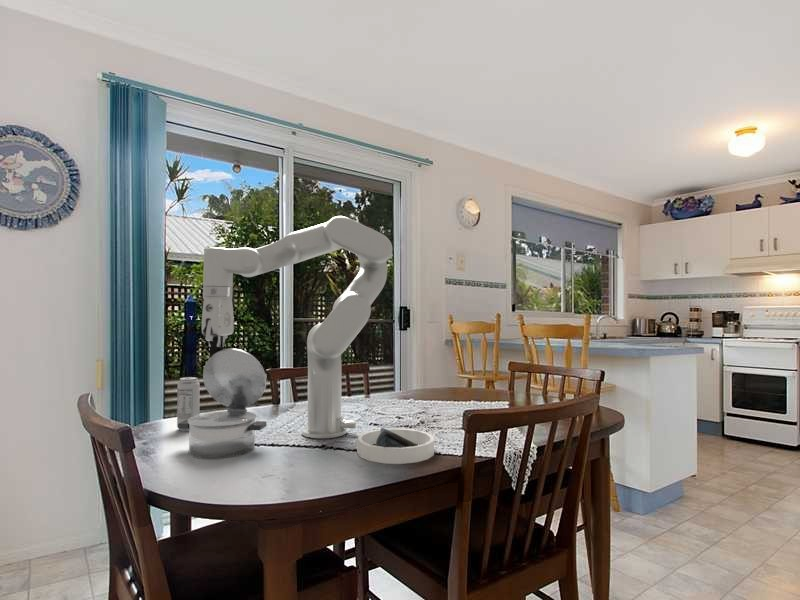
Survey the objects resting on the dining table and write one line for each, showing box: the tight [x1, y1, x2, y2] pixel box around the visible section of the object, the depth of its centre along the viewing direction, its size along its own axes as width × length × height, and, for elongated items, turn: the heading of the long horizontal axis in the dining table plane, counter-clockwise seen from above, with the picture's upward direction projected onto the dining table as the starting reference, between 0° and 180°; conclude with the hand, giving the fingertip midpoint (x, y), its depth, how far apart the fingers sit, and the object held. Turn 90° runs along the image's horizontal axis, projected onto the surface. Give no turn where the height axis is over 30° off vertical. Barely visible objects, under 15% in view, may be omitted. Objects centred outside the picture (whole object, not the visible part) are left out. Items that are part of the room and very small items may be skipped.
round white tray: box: [356, 427, 435, 465], centre depth 124 cm, size 19×19×4 cm
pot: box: [177, 410, 267, 460], centre depth 127 cm, size 21×18×8 cm
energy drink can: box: [176, 376, 201, 432], centre depth 147 cm, size 6×6×15 cm
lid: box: [202, 347, 267, 412], centre depth 134 cm, size 17×18×4 cm
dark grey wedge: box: [375, 427, 418, 448], centre depth 122 cm, size 10×7×12 cm
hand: (216, 361), depth 134 cm, fingers closed
